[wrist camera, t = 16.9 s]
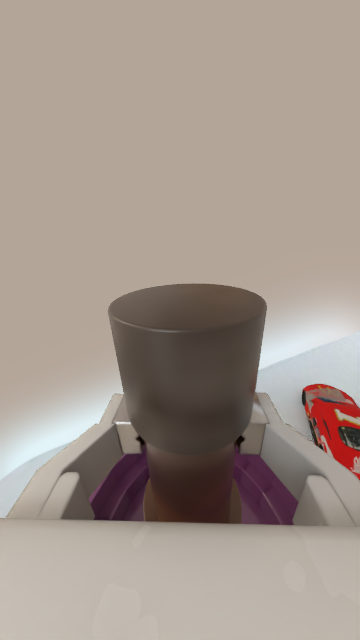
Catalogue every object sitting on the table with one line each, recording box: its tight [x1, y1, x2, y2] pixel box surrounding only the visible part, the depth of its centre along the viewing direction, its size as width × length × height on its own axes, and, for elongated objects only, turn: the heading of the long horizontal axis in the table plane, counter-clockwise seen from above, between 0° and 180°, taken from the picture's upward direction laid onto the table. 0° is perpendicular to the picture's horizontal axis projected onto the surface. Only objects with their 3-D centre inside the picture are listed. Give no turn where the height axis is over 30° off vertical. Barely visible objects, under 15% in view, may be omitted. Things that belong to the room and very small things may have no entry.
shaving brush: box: [108, 284, 267, 524], centre depth 8 cm, size 5×5×12 cm
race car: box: [302, 384, 360, 480], centre depth 20 cm, size 13×5×4 cm, turn 158°
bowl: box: [88, 445, 299, 525], centre depth 13 cm, size 15×15×4 cm
